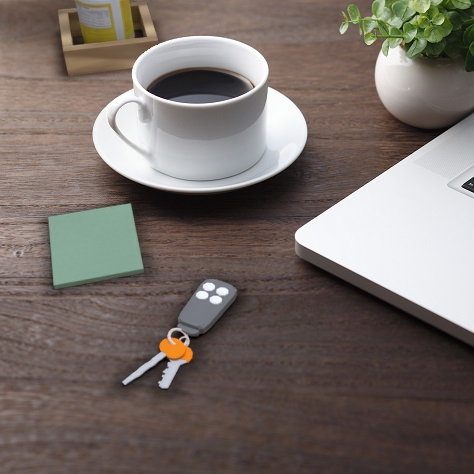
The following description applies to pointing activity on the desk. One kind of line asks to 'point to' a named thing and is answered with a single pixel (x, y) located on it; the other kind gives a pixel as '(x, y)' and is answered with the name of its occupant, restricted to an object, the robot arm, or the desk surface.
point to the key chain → (191, 327)
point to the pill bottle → (105, 20)
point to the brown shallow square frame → (105, 43)
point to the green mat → (94, 246)
